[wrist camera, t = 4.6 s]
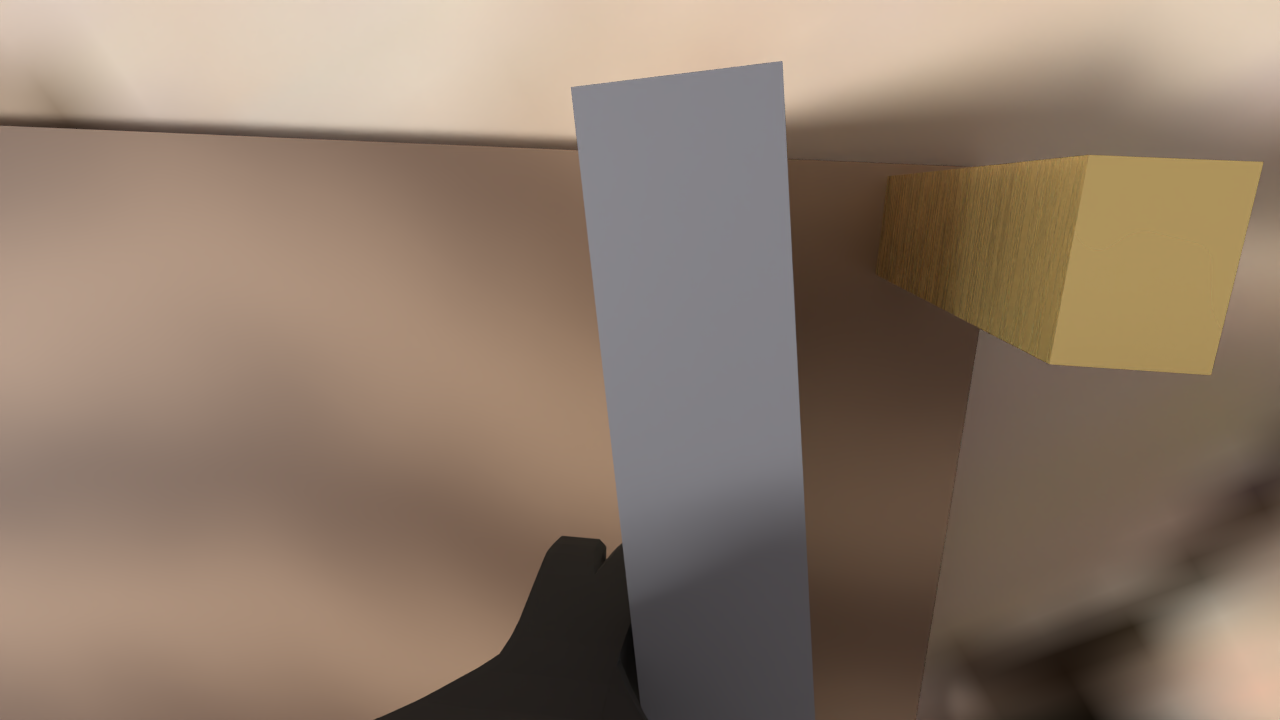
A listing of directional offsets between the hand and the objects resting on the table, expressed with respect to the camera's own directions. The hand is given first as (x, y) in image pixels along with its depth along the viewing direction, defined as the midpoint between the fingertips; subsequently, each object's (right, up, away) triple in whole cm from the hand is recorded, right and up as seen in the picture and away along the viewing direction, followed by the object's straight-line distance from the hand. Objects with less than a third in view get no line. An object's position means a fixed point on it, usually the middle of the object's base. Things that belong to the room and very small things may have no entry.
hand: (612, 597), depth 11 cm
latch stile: (+5, +6, +1) cm, 8 cm away
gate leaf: (+2, +2, +1) cm, 3 cm away
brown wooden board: (-5, +1, +4) cm, 6 cm away
